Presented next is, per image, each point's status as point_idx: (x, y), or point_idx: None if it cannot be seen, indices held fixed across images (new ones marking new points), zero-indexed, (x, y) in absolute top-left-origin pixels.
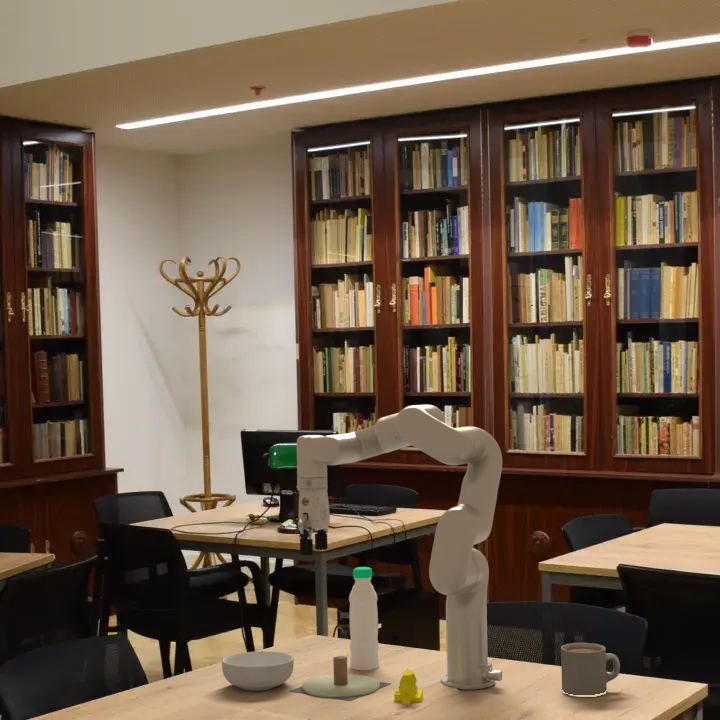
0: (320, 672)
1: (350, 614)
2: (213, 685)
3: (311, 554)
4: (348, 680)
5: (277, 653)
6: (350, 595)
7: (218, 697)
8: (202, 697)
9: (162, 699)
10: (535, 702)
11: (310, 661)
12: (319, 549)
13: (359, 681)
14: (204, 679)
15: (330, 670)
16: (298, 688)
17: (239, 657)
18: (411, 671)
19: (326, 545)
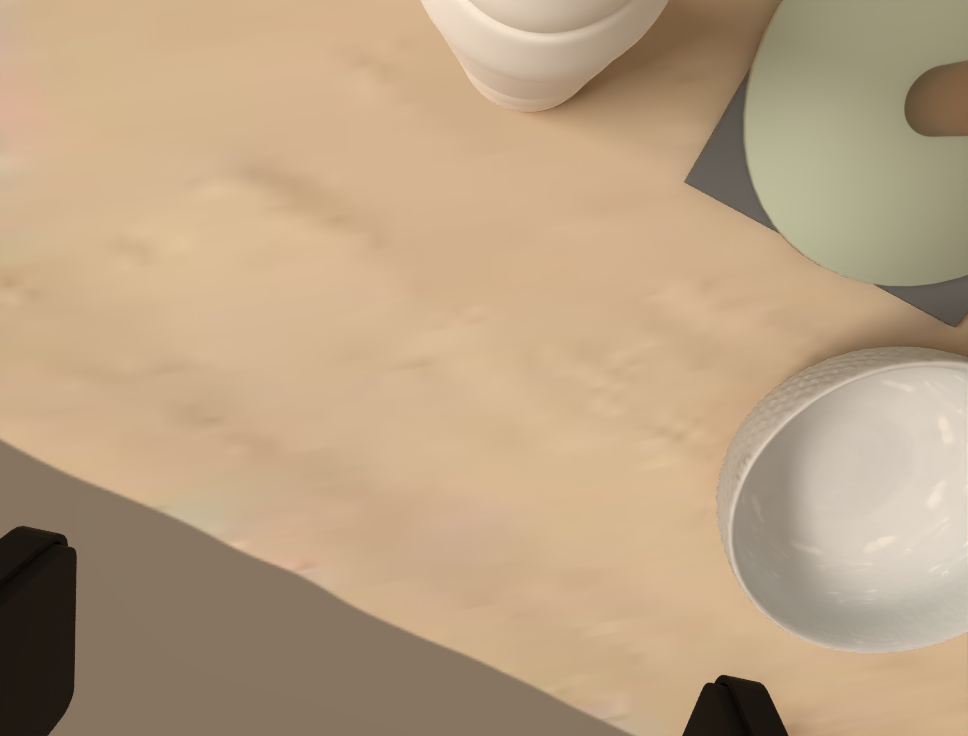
0: (591, 250)
1: (591, 75)
2: None
3: (756, 692)
4: (879, 70)
5: (760, 454)
6: (604, 53)
7: None
8: None
9: (942, 721)
10: None
11: (392, 326)
12: (65, 639)
13: (907, 6)
14: (685, 654)
15: (555, 209)
16: (918, 296)
17: (766, 598)
18: None
19: (12, 576)
